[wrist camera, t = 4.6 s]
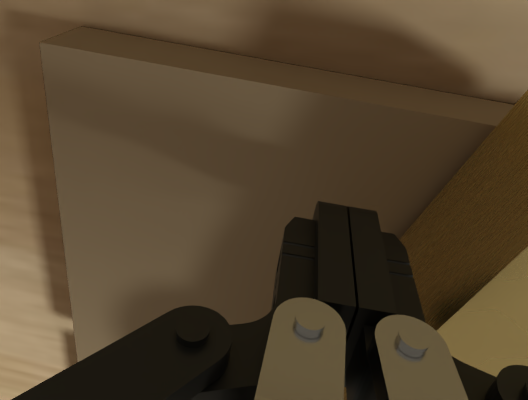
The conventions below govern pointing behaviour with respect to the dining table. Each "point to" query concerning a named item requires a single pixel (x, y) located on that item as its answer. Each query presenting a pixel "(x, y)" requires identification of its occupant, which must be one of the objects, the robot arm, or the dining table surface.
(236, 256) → the door mock-up
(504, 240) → the swing bar
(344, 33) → the dining table surface
